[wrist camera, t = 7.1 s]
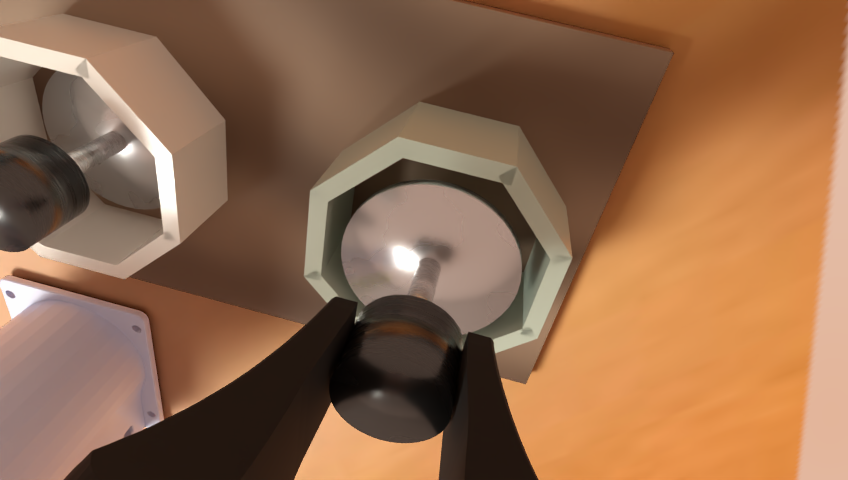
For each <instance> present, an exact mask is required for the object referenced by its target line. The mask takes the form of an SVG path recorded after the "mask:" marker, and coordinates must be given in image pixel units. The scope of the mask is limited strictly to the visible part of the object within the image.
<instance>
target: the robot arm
mask: <svg viewBox="0 0 848 480" xmlns="http://www.w3.org/2000/svg"><path fill="white" fill-rule="evenodd" d="M0 287H1V290H2V292H3V295H4V298H5V301H6V304H7V307H8V309H9V312H10V315H11V318H12V319H11V320H10V321H9V322H8V323H6V324H5V325H4V326H2V327H1V328H0V480H294V478H295V476H296V473H297V471H298V469H299V467H300V464H301V462H302V460H303V458H304V456H305V454H306V452H307V450H308V448H309V446H310V444H311V442H312V440H313V438H314V436H315V434H316V432H317V430H318V428H319V426H320V424H321V422H322V420H323V418H324V416H325V414H326V412H327V410H328V408H329V405H330V403H331V399H330V395H329V383H330V379H331V377H332V375H333V372H334V370H335V368H336V365H337V363H338V361H339V359H340V356H341V354H342V352H343V349H344V347H345V345H346V343H347V340H348V338H349V336H350V333H351V331H352V329H353V327H354V324H355V318H356V311H357V305H358V302H355V301H352V300H348V299H344V298H340V297H337V296H336V297H334V298H332V299H331V300H330V301H329V302H328V303H327V304H326V305H325V306H324V307H323V308H322V309H321V310H320V311H319V312H318V313H317V314H316V315H315V316H314V317H313V318H312V319H311V320H310V321H309V322H308V323H307V324H306V325H305V326H304V327H303V328H302V329H300V330H299V331H298V332H297V333H296V334H295V335H294V336H292V337H291V338H290V339H289V340H288V341H287V342H286V343H284V344H283V345H282V346H281V347H279V348H278V349H277V350H276V351H274V352H273V353H272V354H270V355H269V356H268V357H267V358H265V359H264V360H263V361H261V362H260V363H259V364H257V365H256V366H255V367H253V368H252V369H250V370H249V371H248V372H246V373H245V374H243V375H242V376H240V377H239V378H237V379H236V380H234V381H233V382H231V383H230V384H228V385H227V386H225V387H223V388H222V389H220V390H218V391H217V392H215V393H213V394H211V395H210V396H208V397H206V398H205V399H203V400H201V401H200V402H198V403H196V404H194V405H192V406H190V407H189V408H187V409H185V410H183V411H181V412H179V413H177V414H175V415H173V416H171V417H168V418H166V419H164V416H163V409H162V403H161V396H160V390H159V383H158V377H157V370H156V363H155V357H154V350H153V344H152V337H151V330H150V324H149V319H148V316H147V315H146V314H145V313H143V312H142V311H139V310H135V309H132V308H128V307H125V306H121V305H117V304H114V303H110V302H106V301H103V300H99V299H95V298H92V297H88V296H84V295H81V294H77V293H73V292H70V291H66V290H62V289H59V288H55V287H51V286H48V285H44V284H40V283H37V282H33V281H29V280H26V279H22V278H18V277H15V276H10V275H7V276H5V277H3V278H2V279H1V280H0ZM144 427H148V428H146V429H144ZM439 480H538V478H537V476H536V474H535V472H534V470H533V467H532V465H531V463H530V461H529V459H528V456H527V454H526V452H525V449H524V447H523V445H522V442H521V440H520V437H519V434H518V432H517V429H516V426H515V424H514V421H513V418H512V415H511V412H510V409H509V406H508V402H507V399H506V396H505V393H504V389H503V386H502V382H501V378H500V374H499V370H498V365H497V360H496V355H495V349H494V342H493V340H492V339H491V338H490V337H486V336H483V335H479V334H475V333H471V332H468V334H467V337H466V341H465V344H464V347H463V350H462V354H461V360H460V366H459V372H458V379H457V386H456V392H455V398H454V405H453V411H452V416H451V419H450V422H449V424H448V425H447V426H446V428H445V429H444V430H443V440H442V451H441V461H440V472H439Z"/></svg>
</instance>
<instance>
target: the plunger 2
mask: <svg viewBox="0 0 848 480" xmlns="http://www.w3.org/2000/svg"><path fill="white" fill-rule="evenodd" d="M341 258H342V265H343V269H344V273H345V276H346V278H347V281H348V283H349V285H350V286H351V288H352V290H353V292H354V293H355V294H356V296H357V297H358V298H359V300H360V301H361V302H362V303H363V304H364V305H365V307H364V308H363V309H362V311H361V312H360V313H359V315H358V317H357V320H356V322H355V324H354V327H353V329H352V331H351V333H350V336H349V338H348V340H347V343H346V345H345V347H344V349H343V352H342V354H341V356H340V359H339V361H338V363H337V365H336V368H335V370H334V372H333V375H332V377H331V379H330V383H329V395H330V399H331V402H332V404H333V406H334V408H335V409H336V411H337V412H338V413H339V414H340V416H341V417H342V418H343V419H344V420H345V421H346V422H347V423H349V424H350V425H351V426H353V427H354V428H356V429H357V430H359V431H361V432H363V433H365V434H367V435H369V436H371V437H374V438H377V439H380V440H384V441H388V442H395V443H414V442H420V441H425V440H428V439H430V438H432V437H434V436H436V435H438V434H439V433H441V432H442V431H443V430H444V429H445V428H446V426H447V425H448V424H449V422H450V419H451V416H452V411H453V405H454V398H455V392H456V386H457V379H458V372H459V366H460V360H461V354H462V348H463V339H462V335H463V334H467V333H468V332H474V331H477V330H479V329H481V328H483V327H486V326H487V325H489V324H490V323H492V322H494V321H495V320H496V319H498V318H499V317H500V316H501V315H502V314H503V313H504V312H505V311H506V310H507V309H508V308H509V306H510V305H511V303H512V302H513V300H514V298H515V296H516V294H517V292H518V289H519V286H520V282H521V274H522V255H521V250H520V245H519V242H518V239H517V237H516V234H515V232H514V230H513V228H512V227H511V225H510V223H509V222H508V221H507V219H506V218H505V217H504V215H503V214H502V213H501V212H500V211H499V210H498V209H497V208H496V207H495V206H494V205H493V204H491V203H490V202H489V201H488V200H486V199H485V198H483V197H482V196H480V195H478V194H477V193H475V192H473V191H471V190H469V189H467V188H464V187H462V186H459V185H456V184H453V183H449V182H444V181H439V180H427V179H422V180H409V181H404V182H399V183H396V184H393V185H390V186H387V187H385V188H383V189H381V190H379V191H377V192H376V193H374V194H373V195H371V196H370V197H369V198H368V199H366V200H365V201H364V202H363V203H362V204H361V205H360V207H359V208H358V209H357V210H356V212H355V213H354V215H353V216H352V218H351V220H350V222H349V223H348V225H347V227H346V230H345V233H344V235H343V240H342V245H341Z"/></svg>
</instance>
